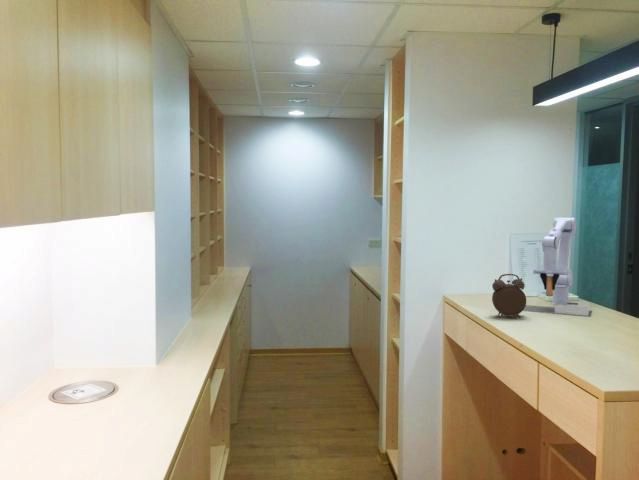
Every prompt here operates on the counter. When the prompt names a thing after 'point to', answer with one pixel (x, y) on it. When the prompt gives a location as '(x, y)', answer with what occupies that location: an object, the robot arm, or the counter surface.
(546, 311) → the rubber mat
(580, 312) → the hole block
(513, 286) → the alarm clock
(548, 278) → the pin
